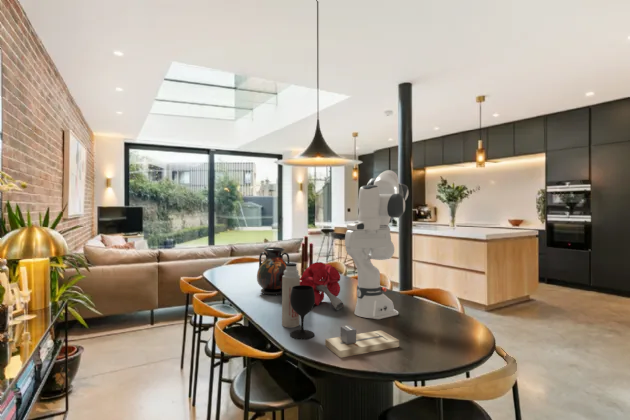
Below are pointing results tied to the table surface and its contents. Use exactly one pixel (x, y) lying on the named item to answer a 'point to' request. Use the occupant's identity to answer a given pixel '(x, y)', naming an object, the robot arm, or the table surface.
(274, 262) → the amphora vase
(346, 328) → the fader
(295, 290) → the wine glass
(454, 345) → the table surface
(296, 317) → the thermos bottle
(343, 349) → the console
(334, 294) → the bouquet
